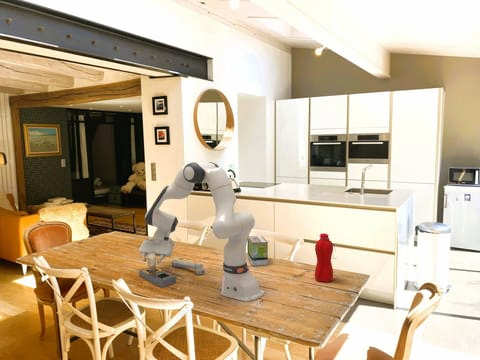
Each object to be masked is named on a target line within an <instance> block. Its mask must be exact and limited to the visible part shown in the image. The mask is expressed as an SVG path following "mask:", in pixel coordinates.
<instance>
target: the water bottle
mask: <svg viewBox="0 0 480 360" xmlns="http://www.w3.org/2000/svg"><path fill="white" fill-rule="evenodd" d="M318 236H319V239H318V240H317V241H316V243H315V245H314V251H315V256H316V265H315V270H314V279H315V281H318V282H323V283H330V282H332V281H333V278H334V269H333V265H332V257H333V253H334V251H335V252H337V251H336V249H335V250H334V248H336V247H335V245H334V243H333V242H332V240H330V238H329V234H328V233H325V232H324V233H320V234H319V235H318ZM334 259H335V260H336V259H337V257H335V258H334Z"/></svg>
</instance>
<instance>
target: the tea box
mask: <svg viewBox="0 0 480 360" xmlns="http://www.w3.org/2000/svg"><path fill="white" fill-rule="evenodd" d="M268 245H269V242H268V240H267V239H266V238H265V237H264V236H263V235H249V237H248V240H247V260H248V261H249V262H250V264H251V266H252V267H257V266H258V267H259V266H260V267H261V266H268V264H269V263H268V262H269V261H268V260H269V258H268V255H269V254H268V253H269V252H268V251H269V249H268V247H269V246H268Z"/></svg>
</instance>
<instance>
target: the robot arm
mask: <svg viewBox="0 0 480 360" xmlns="http://www.w3.org/2000/svg"><path fill="white" fill-rule="evenodd" d="M195 184H207V186H208V187H209V191H210V193H211V196H212V200H213V203H214V206H215V207H214V208H215V218H214V220H213V222H212V225H211V230H212V233H213V236H214V237H215V238H216V239H219V240H227V239H228V240H227V241H226V243H225V245H224V246H223V263H222V268H223V269H222V270H223V275H222V284H221V291H220V295H221V296H224V297H226V298H229V299H230V298H231V299H234V300H237V301H240V302H245V303H247V302H252V301H255V300H257V299H259V298H261V297H263V296H264V295H265V291H264V290H263V289H261V288H260V284H259V281H258V280H257V278H256V277H255V276H254V275H253V274H252V273H251V271H250V265H248V263H247V255H246V254H247V245H248V237H249V236H250V233H251V232H252V230H253V229H254V227H255V226H256V225H255V224H256V221H255V218H254V216H253V215H254V214H252V213H251V212H250V211H249V212H248V211H239V212H235V211H234V207H235V204H236V202H237V197H236V193H235V191H234V188H233V185H232V183H231V180H230V177H229V176H228V174H227V172H226V171H225V169H223V168H222V167H220V166H219V165H218V164H217V163H214V162H211V161H209V162H208V161H197V162H194V161H193V162H190V163H187V164H185V165H182V166H181V167H180V169H179V171H178V172H177V174H176V175H175V177H174V179H173V182H172V183H171V184H170V185H166V186H165V187H164V188H163V189H162V190H161V192H160V193H159V195H158V196H157V197H156V199H155V201H154V202H153V204H152V205H151V207H150V208H149V209H148V210H147V211H146V213H145V215H144V221H145V223H146V224H147V226H148V225H149V226H152V227H156V230H155V232H154V234H153V236H152V238H146V239H144V240H143V241H142V243H141V245H140V247H139V248H138V252H139V253H140V254H141V255H142V259H141V260H142V262H147V261H148V258H146V257H148V252H155V257H159V258H157V259H156V263H157V264H161V263H162V261H163V260H164V259H165V257H167V258H171V256H172V255H173V253H174V247H175V242H174V240H173V239H172V238H171V237H170V235H171V234H172V233H174V232H176V228H177V225H178V224H179V220H178V217H177V216H175V215H174V214H171V213H169V212H165V211H163V210H161V209H160V207H161V206H162V204H163V203H164V201H166V200H183V199H186V198H189V196H190V195H191V193H192V191H193V189H194V187H195Z"/></svg>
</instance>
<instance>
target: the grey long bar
mask: <svg viewBox="0 0 480 360" xmlns="http://www.w3.org/2000/svg"><path fill="white" fill-rule="evenodd" d="M171 266H172V267H175V268H183V269H184V268H185V269H194V272H195V274H196V276H199V275H201V276H202V275H204V274H206V271H205V270H206V267H204V264H203V263H202V262H197V263H196V262H191V261H185V260H180V259H173V260H172V262H171Z"/></svg>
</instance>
